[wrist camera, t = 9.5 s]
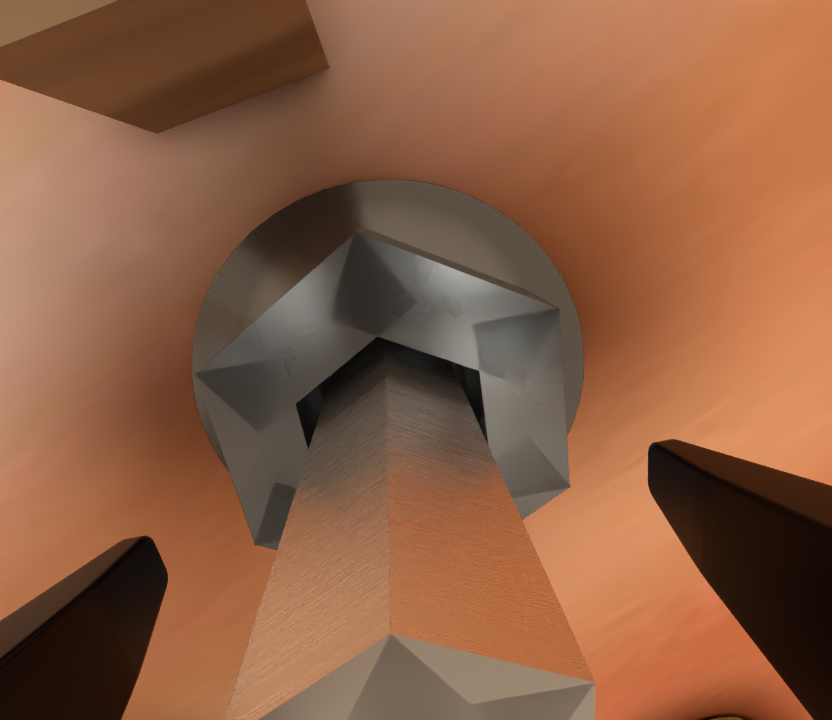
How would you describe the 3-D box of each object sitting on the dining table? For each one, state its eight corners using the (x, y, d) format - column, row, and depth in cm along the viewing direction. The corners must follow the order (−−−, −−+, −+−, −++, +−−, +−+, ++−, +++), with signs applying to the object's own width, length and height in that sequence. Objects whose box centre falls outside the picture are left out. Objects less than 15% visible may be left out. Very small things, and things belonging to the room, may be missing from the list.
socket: (635, 393, 15) (717, 452, 12) (375, 580, 17) (373, 683, 14) (419, 84, 12) (435, 26, 8) (121, 358, 14) (23, 414, 10)
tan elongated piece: (455, 436, 14) (596, 868, 5) (352, 452, 14) (291, 923, 5) (441, 319, 13) (596, 599, 4) (327, 336, 13) (181, 667, 4)
